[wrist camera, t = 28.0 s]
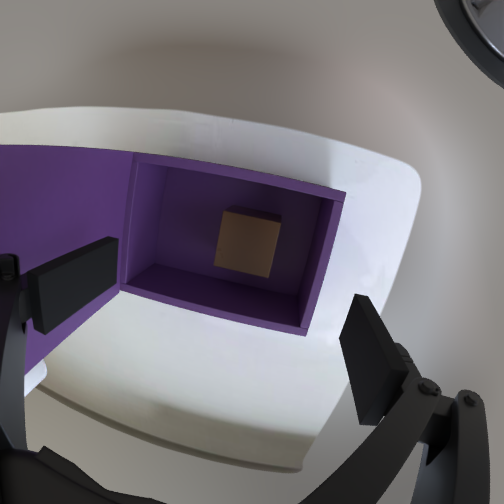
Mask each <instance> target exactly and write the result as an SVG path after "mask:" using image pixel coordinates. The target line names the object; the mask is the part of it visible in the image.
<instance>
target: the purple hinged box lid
mask: <svg viewBox="0 0 504 504" xmlns="http://www.w3.org/2000/svg"><path fill="white" fill-rule="evenodd" d="M133 153H134V152H130V151H121V150H110V149H99V148H85V147H70V146H49V145H0V254H5V253H12V254H16V255H18V256H19V261H20V274H21V275H22V274H24V273H26V272H27V271H29V270H31V269H33V268H35V267H37V266H40V265H42V264H44V263H46V262H48V261H51V260H53V259H55V258H57V257H59V256H62V255H64V254H66V253H69V252H71V251H73V250H76V249H78V248H80V247H83V246H85V245H87V244H90V243H92V242H95V241H97V240H99V239H102V238H104V237H107V236H110V237H114V238H118V239H119V246H118V263H117V283H116V284H115V285H114V286H112V287H111V288H109V289H108V290H107V291H105V292H104V293H102V294H101V295H100V296H98V297H97V298H95V299H94V300H93V301H91V302H90V303H88V304H87V305H86V306H84V307H83V308H82V309H80V310H79V311H77V312H76V313H75V314H73V315H72V316H71V317H69V318H68V319H67V320H65V321H64V322H63V323H61V324H60V325H59V326H57V327H56V328H55V329H53V330H52V331H51V332H49V333H48V334H47V335H43V334H41V333H40V332H38V331H36V330H34V327H33V321H32V318H31V319H29V320H28V321H27V326H28V332H27V343H26V355H25V375H26V374H27V373H28V372H29V371H30V370H31V369H32V368H34V367H35V366H36V365H37V364H38V363H39V362H40V361H41V360H42V359H43V358H44V357H45V356H47V355H48V354H49V353H50V352H51V351H52V350H53V349H54V348H55V347H57V346H58V345H59V344H60V343H61V342H62V341H63V340H64V339H66V338H67V337H68V336H69V335H70V334H71V333H72V332H74V331H75V330H76V329H77V328H78V327H79V326H80V325H82V324H83V323H84V322H85V321H86V320H87V319H89V318H90V317H91V316H92V315H93V314H94V313H96V312H97V311H98V310H99V309H100V308H101V307H103V306H104V305H105V304H106V303H107V302H109V301H110V300H111V299H112V298H113V297H115V296H116V295H117V294H118V293H119V292H120V267H121V251H122V238H123V227H124V217H125V208H126V199H127V192H128V184H129V177H130V171H131V165H132V158H133Z"/></svg>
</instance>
